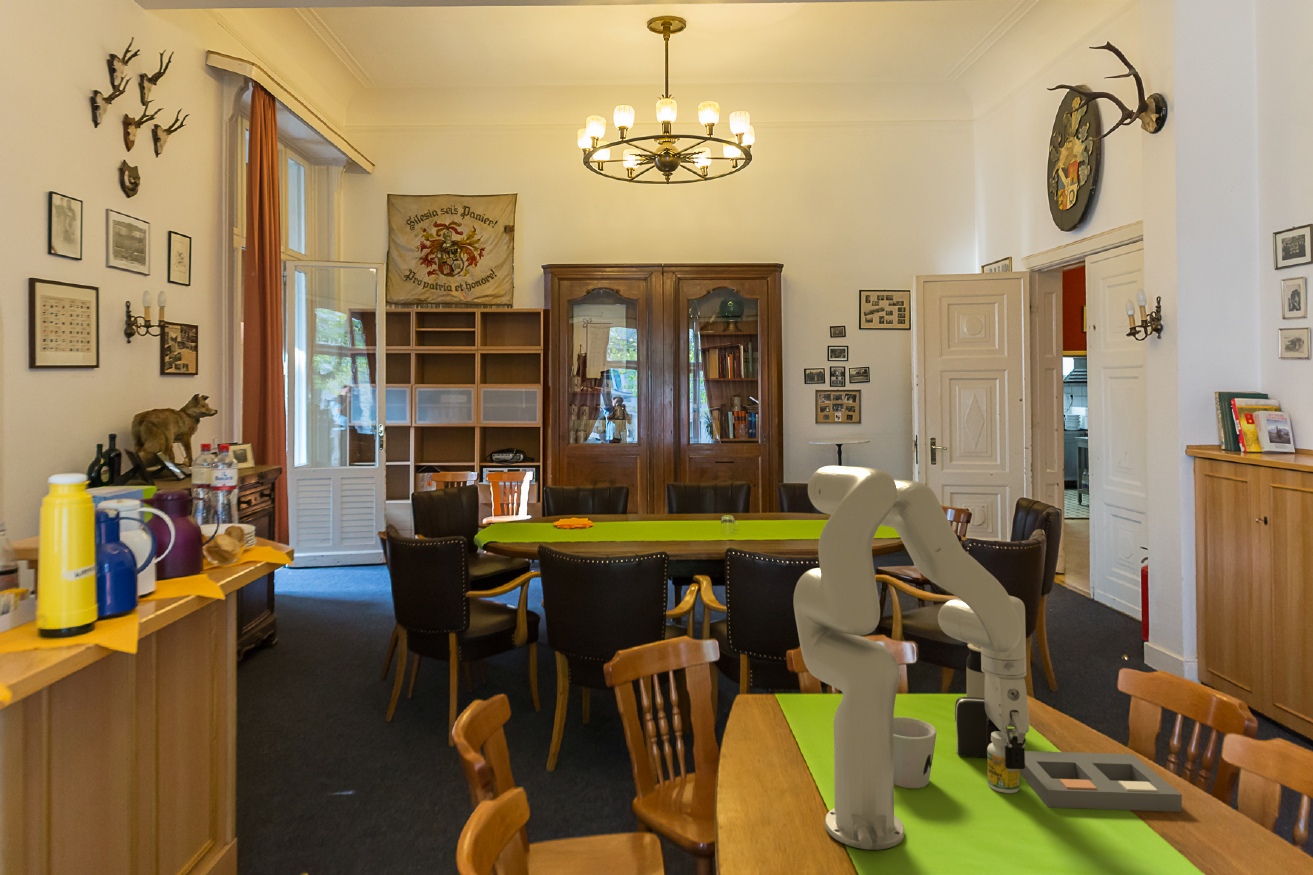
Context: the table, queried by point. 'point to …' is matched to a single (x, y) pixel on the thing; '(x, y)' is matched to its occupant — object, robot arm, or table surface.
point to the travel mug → (975, 673)
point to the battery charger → (971, 727)
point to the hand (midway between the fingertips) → (1005, 755)
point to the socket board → (1098, 782)
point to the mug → (912, 751)
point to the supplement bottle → (1001, 766)
